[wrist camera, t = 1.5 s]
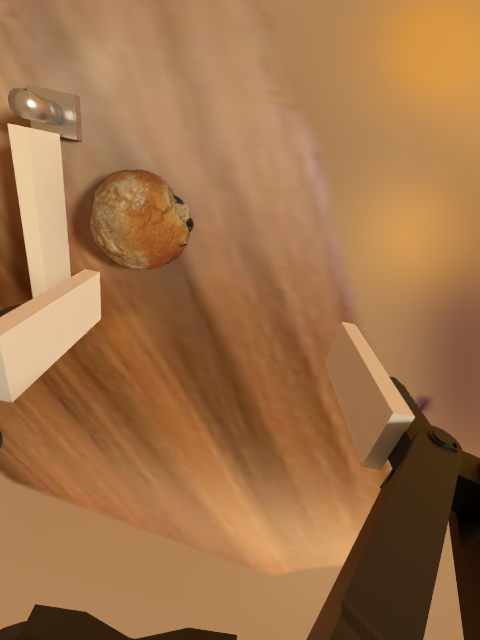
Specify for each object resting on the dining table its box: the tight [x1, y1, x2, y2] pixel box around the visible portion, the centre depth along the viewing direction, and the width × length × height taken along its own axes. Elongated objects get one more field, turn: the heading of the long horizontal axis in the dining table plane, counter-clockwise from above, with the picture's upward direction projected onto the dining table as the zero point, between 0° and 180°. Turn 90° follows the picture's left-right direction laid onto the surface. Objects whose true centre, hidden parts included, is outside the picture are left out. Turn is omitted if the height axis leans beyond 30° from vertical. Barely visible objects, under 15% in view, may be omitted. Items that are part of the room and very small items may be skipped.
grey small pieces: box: [8, 84, 91, 335], centre depth 31 cm, size 4×26×5 cm, turn 169°
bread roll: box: [90, 170, 194, 269], centre depth 30 cm, size 10×10×8 cm
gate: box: [7, 123, 71, 298], centre depth 29 cm, size 2×17×5 cm, turn 169°
